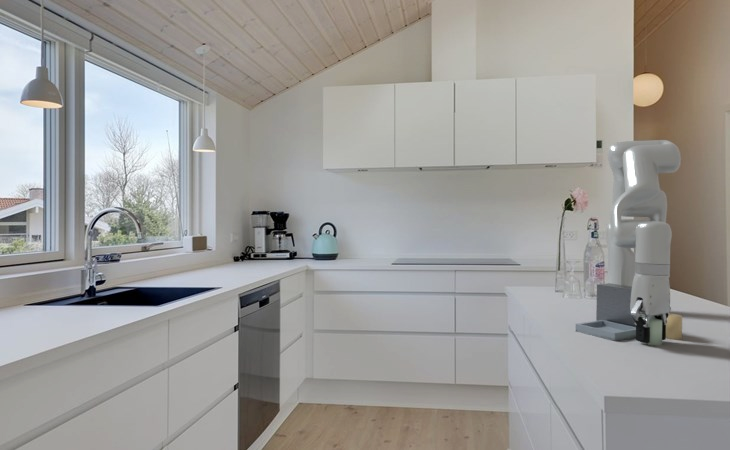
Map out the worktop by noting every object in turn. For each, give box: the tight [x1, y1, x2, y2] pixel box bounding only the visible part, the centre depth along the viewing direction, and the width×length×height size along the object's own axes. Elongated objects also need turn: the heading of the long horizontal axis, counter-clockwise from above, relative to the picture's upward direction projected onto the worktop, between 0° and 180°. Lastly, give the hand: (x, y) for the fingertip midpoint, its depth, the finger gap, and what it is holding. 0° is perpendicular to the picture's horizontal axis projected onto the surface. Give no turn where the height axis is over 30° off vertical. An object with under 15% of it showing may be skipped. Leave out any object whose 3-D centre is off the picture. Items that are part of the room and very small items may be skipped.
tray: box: [575, 320, 636, 342], centre depth 126 cm, size 12×12×2 cm
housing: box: [595, 282, 653, 327], centre depth 133 cm, size 8×14×12 cm, turn 28°
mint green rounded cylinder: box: [640, 318, 663, 346], centre depth 117 cm, size 5×5×6 cm
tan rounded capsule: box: [665, 312, 683, 341], centre depth 123 cm, size 5×5×6 cm
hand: (650, 339), depth 117 cm, fingers open, 6 cm apart
